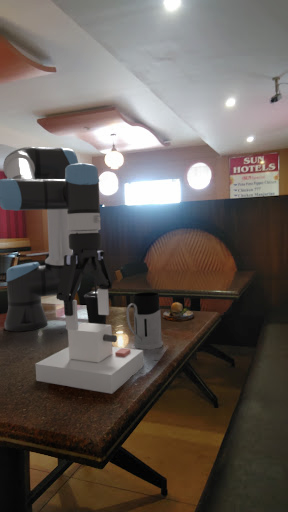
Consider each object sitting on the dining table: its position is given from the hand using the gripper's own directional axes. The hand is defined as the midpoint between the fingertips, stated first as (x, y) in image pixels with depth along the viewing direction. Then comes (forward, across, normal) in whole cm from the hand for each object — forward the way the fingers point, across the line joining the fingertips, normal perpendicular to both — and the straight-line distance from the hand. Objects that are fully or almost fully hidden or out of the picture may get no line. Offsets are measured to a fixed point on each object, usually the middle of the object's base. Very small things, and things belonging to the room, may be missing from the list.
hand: (89, 321), depth 84 cm
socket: (+12, 0, 0) cm, 13 cm away
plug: (+12, 0, -2) cm, 13 cm away
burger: (+14, +58, -2) cm, 59 cm away
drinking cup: (+13, +27, +15) cm, 33 cm away
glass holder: (+13, +21, -4) cm, 25 cm away
